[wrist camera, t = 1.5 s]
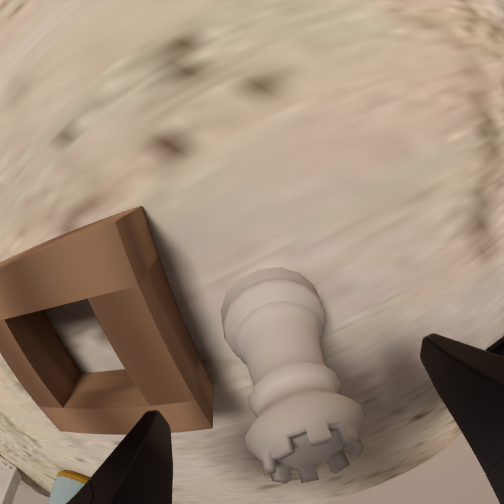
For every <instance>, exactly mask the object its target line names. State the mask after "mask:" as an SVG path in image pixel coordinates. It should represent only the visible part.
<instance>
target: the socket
mask: <svg viewBox="0 0 504 504" xmlns="http://www.w3.org/2000/svg"><path fill="white" fill-rule="evenodd" d="M84 299H88V301H89V303H90V305H91V307H92V309H93V311H94V313H95V315H96V317H97V319H98V321H99V323H100V325H101V327H102V329H103V331H104V333H105V335H106V336H107V338H108V340H109V342H110V344H111V345H112V347H113V349H114V351H115V352H116V354H117V356H118V357H119V359H120V361H121V362H122V364H123V366H124V367H125V369H123V370H115V371H106V372H96V373H85V374H81V373H80V372H79V370H78V369H77V367H76V366H75V364H74V363H73V361H72V360H71V358H70V357H69V355H68V353H67V352H66V350H65V348H64V347H63V345H62V343H61V342H60V340H59V338H58V337H57V335H56V333H55V331H54V330H53V328H52V326H51V324H50V322H49V320H48V318H47V316H46V315H45V313H44V311H43V310H44V309H48V308H52V307H56V306H60V305H64V304H68V303H72V302H76V301H80V300H84ZM0 353H1V355H2V356H3V358H4V359H5V361H6V362H7V364H8V366H9V367H10V369H11V370H12V372H13V373H14V374H15V376H16V377H17V379H18V380H19V382H20V383H21V384H22V386H23V387H24V388H25V390H26V391H27V392H28V394H29V395H30V396H31V397H32V399H33V400H34V401H35V402H36V404H37V405H38V406H39V407H40V409H41V410H42V411H43V412H44V413H45V414H46V416H47V417H48V418H49V419H50V420H51V421H52V422H53V424H54V425H55V426H56V427H57V428H58V429H59V430H60V431H65V432H76V433H90V434H123V435H126V434H128V433H129V432H130V430H131V429H132V428H133V427H134V426H135V424H136V423H137V422H138V421H139V420H140V418H141V417H142V416H143V415H144V414H145V412H147V411H152V410H158V411H160V413H161V414H162V415H163V417H164V418H165V419H166V421H167V422H168V424H169V425H170V429H171V433H174V432H185V431H195V430H203V429H211V428H213V384H212V382H211V380H210V378H209V376H208V374H207V372H206V370H205V368H204V366H203V364H202V361H201V359H200V357H199V355H198V353H197V351H196V348H195V346H194V344H193V342H192V339H191V337H190V335H189V332H188V330H187V328H186V326H185V323H184V321H183V318H182V316H181V314H180V311H179V309H178V306H177V304H176V301H175V299H174V296H173V294H172V291H171V289H170V286H169V283H168V281H167V278H166V276H165V273H164V270H163V268H162V265H161V262H160V259H159V256H158V254H157V251H156V248H155V245H154V242H153V239H152V236H151V233H150V230H149V227H148V224H147V221H146V218H145V215H144V212H143V209H142V206H139V207H136V208H133V209H131V210H128V211H125V212H122V213H119V214H116V215H113V216H111V217H108V218H105V219H102V220H100V221H97V222H94V223H92V224H89V225H86V226H84V227H81V228H79V229H76V230H74V231H71V232H69V233H66V234H64V235H61V236H59V237H56V238H54V239H52V240H49V241H47V242H44V243H42V244H40V245H38V246H35V247H33V248H31V249H29V250H26V251H24V252H22V253H20V254H18V255H15V256H13V257H11V258H9V259H7V260H5V261H3V262H1V263H0Z"/></svg>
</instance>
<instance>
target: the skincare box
mask: <svg viewBox="0 0 504 504" xmlns="http://www.w3.org/2000/svg"><path fill="white" fill-rule="evenodd" d="M21 478H22V477H21V475H20V473H19V471H18V469H17V467H16V466H14V465H13V464H11V463H10V462H8V461H7V460H5V459H4V458H2V457H1V456H0V504H12V502H13V499H14V496H15V493H16V491H17V488H18V486H19V483H20V480H21Z"/></svg>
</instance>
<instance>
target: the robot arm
mask: <svg viewBox="0 0 504 504" xmlns="http://www.w3.org/2000/svg"><path fill="white" fill-rule="evenodd" d="M420 358H421V361H422V363H423V365H424V367H425V369H426V371H427V373H428V375H429V377H430V379H431V381H432V383H433V385H434V387H435V389H436V391H437V392H438V394H439V396H440V397H441V399H442V401H443V402H444V404H445V405H446V407H447V408H448V410H449V412H450V413H451V415H452V416H453V418H454V420H455V421H456V423H457V425H458V426H459V428H460V429H461V431H462V433H463V434H464V436H465V438H466V440H467V441H468V443H469V445H470V447H471V448H472V450H473V452H474V454H475V455H476V457H477V459H478V461H479V463H480V465H481V466H482V468H483V470H484V472H485V473H486V476H487V478H488V480H489V482H490V484H491V486H492V488H493V490H494V492H495V494H496V496H497V498H498V500H499V502H500V504H504V338H502V339H501V340H500V341H498V342H497V343H496V344H494V345H493V346H491V347H490V348H489V349H488V350H487V351H485V350H482V349H479V348H476V347H473V346H470V345H467V344H464V343H461V342H458V341H455V340H452V339H449V338H446V337H443V336H440V335H438V334H434V333H432V334H430V335H428V336H426V337H424V338H423V340H422V346H421V353H420ZM172 483H173V458H172V444H171V429H170V425H169V424H168V422H167V421H166V419H165V418H164V417H163V415H162V414H161V413H160V411H158V410H152V411H147V412H145V414H144V415H143V416H142V417H141V418H140V420H139V421H138V422H137V423H136V424H135V426H134V427H133V428H132V429H131V430H130V432H129V433H128V434H127V435H126V436H125V438H124V439H123V440H122V441H121V442H120V444H119V445H118V446H117V447H116V448H115V450H114V451H113V452H112V453H111V454H110V455H109V457H108V458H107V459H106V460H105V461H104V463H103V464H102V465H101V466H100V467H99V468H98V470H97V471H96V472H95V473H94V474H93V475H92V477H91V478H90V479H89V480H88V481H87V482H86V483H85V485H84V486H83V487H82V488H81V489H80V490H79V491H78V492H77V493H76V494H75V495H74V496H73V497H72V498H71V499H70V500H69V501H68V502H67V503H66V504H172Z"/></svg>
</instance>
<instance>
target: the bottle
mask: <svg viewBox="0 0 504 504" xmlns="http://www.w3.org/2000/svg"><path fill="white" fill-rule="evenodd" d="M89 479H90V478H89V477H87V476H84V475H82V474H79V473H76V472H73V471H67V470H64V471H62V472H59V473H58V474H57V477H56V479H55V482H54V485H53V488H52V491H51V495H50V498H49V501H48V504H66V503H67V502H68V501H69V500H70V499H71V498H72V497H73V496H74V495H75V494H76V493H77V492H78V491H79V490H80V489H81V488H82V487H83V486H84V485H85V483H86V482H87V481H88V480H89Z"/></svg>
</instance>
